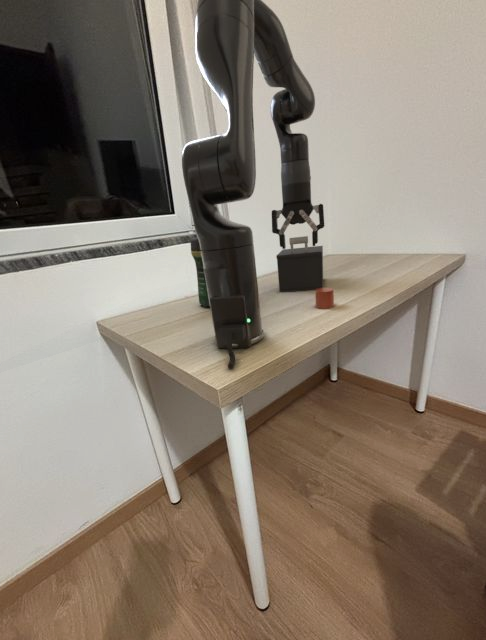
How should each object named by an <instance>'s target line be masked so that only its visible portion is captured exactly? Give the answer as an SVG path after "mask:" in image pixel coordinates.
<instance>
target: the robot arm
mask: <svg viewBox="0 0 486 640" xmlns="http://www.w3.org/2000/svg"><path fill="white" fill-rule="evenodd" d="M195 56H196V62H197V64H198V67H199V69H200V72H201V74H202V76H203V78H204V79H205V81H206V82H207V84H208V85H209V87H210V88H211V90H212V91H213V92H214V94H215V95H216V97H217V98H218V99H219V101H220V103H221V104H222V106H223V108H224V110H225V112H226V114H227V116H228V129H227V131H226V133H223V134H218V135H214V136H209V137H205V138H200V139H199V138H198V139H196V140H192V141H189V142H188V143H186V144H185V145H184V147H183V150H182V152H181V153H182V155H181V169H182V176H183V181H184V186H185V191H186V196H187V199H188V202H189V203H188V204H189V208H190V212H191V218H192V223H193V228H194V232H195V235H196V237H198V240H199V244H200V249H201V255H202V261H203V267H204V273H205V279H206V285H207V291H208V297H209V303H210V306H209V309H210V313H211V314H210V315H211V321H212V326H213V331H214V341H215V344H216V347H217V348H218V349H227V353H228V356H229V362H228V363H227V368H228V369H233V367H234V366H235V364H236V356H235V353H234V350H233V349H238V348H240V349H241V348H244V349H245V348H246V349H247V348H250V347H251V346H252V345H255V344H257V343H259V342H260V341H262V340H263V339H264V329H263V325H262V314H261V305H260V295H259V286H258V275H257V267H256V266H257V265H256V254H255V246H254V235H253V230H252V228H251V226H248V225H246V224H243V223H238V222H236V221H232V220H230V219H228V218H226V217H225V216H223V214H221V211H220V209H219V206H218V205H222V204H230V203H236V202H241V201H245V200H249V199H250V198H251V197H252V196H253V194H254V192H255V188H256V181H257V180H256V179H257V164H256V163H257V162H256V144H255V143H256V142H255V123H254V98H253V97H254V63H255V59H256V61H257V65H258V67H259V69H260V71H261V72H260V73H261V74H262V76H263V79H264V81H265V83H266V84H267V86H268V87H269V88H283V89H282V90H279V91H277V92H275V94H274V95H273V97H272V98H271V102H270V109H269V110H270V116H271V121H272V122H273V127H274V129H275V132H276V137H277V140H278V145H279V149H280V151H279V152H280V164H281V168H280V182H281V196H282V197H281V198H282V199H281V200H282V207H281V209H273V210H271V232H272V234H276V235H278V238H279V247H280V248H282V250H283V249H287V248H286V247H287V246H286V234H285V232H286V231H287V229H288V227H289V226H290V225H294V226H295V225H297V224H302V225H303V224H305V223H307V225H308V226H309V227H310V228H311V230H312V231H311V235H312V236H311V237H312V238H311V239H312V247H315V246H316V244H318V242H319V237H318V236H319V235H318V233H319V230H322V229H324V227H325V213H324V204H323V203H319V204H317V205H313V203H312V188H311V187H312V186H311V185H312V184H311V180H312V176H311V167H310V153H309V151H310V149H309V138H308V137H309V136H308V135H307V134H305V133H302V132H295V133H294V132H292V129H291V125H293V124H297V123H300V122H304V121H306V120H308V119H310V118H311V117H312V115H313V113H314V111H315V108H316V96H315V93H314V89H313V87H312V86H311V84H310V82H309V80H308V79H307V77H306V76H305V74H304V73H303V71H302V70H301V68H300V66H299V65H298V63H297V61H296V60H295V58H294V54H293V52H292V48H291V45H290V42H289V39H288V36H287V33H286V31H285V28H284V25H283V24H282V21H281V19H280V18H279V17H278V15H277V14H276V13H275V12H274V10H272V8H270V7H269V5H267V4H266V3H265V1H263V0H197V4H196V9H195ZM313 211H315V213H316V214H318V220H319V223H318V224H316V223H315V222H314V221H313V219H312V218H311V217H310V216H311V214H312V213H313ZM281 215H282V216H283V218H284V219H285V220H284V222H283V223H282V225H281V227H280V228H279V227H278V224H279V223H278V219H279V218H280V216H281Z"/></svg>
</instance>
